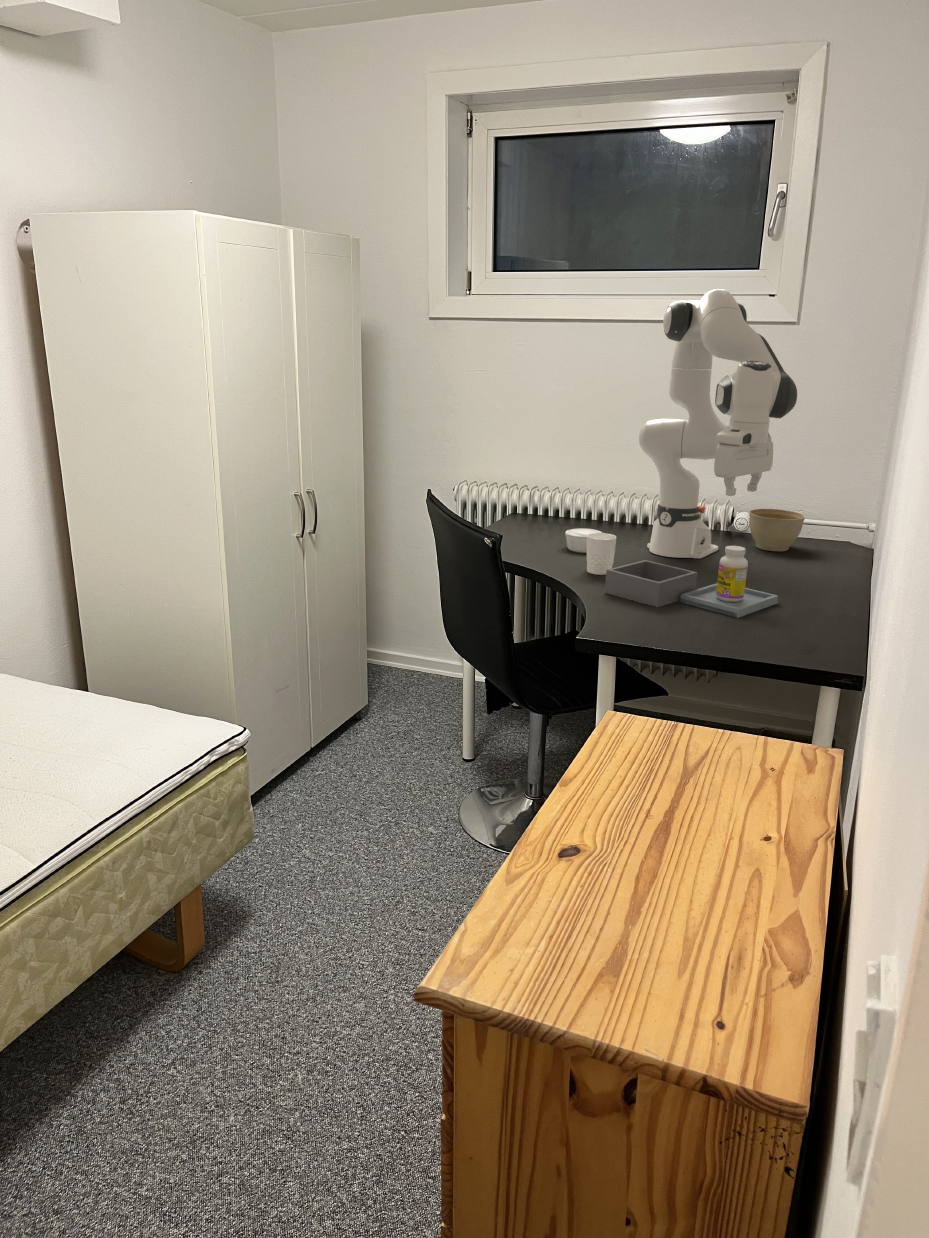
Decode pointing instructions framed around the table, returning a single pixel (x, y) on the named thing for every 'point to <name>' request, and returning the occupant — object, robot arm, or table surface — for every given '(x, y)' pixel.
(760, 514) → the planter bowl
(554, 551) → the table surface
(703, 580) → the table surface
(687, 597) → the tray
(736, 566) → the supplement bottle
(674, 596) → the deep holder
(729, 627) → the table surface
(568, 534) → the ramekin
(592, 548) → the white cup
